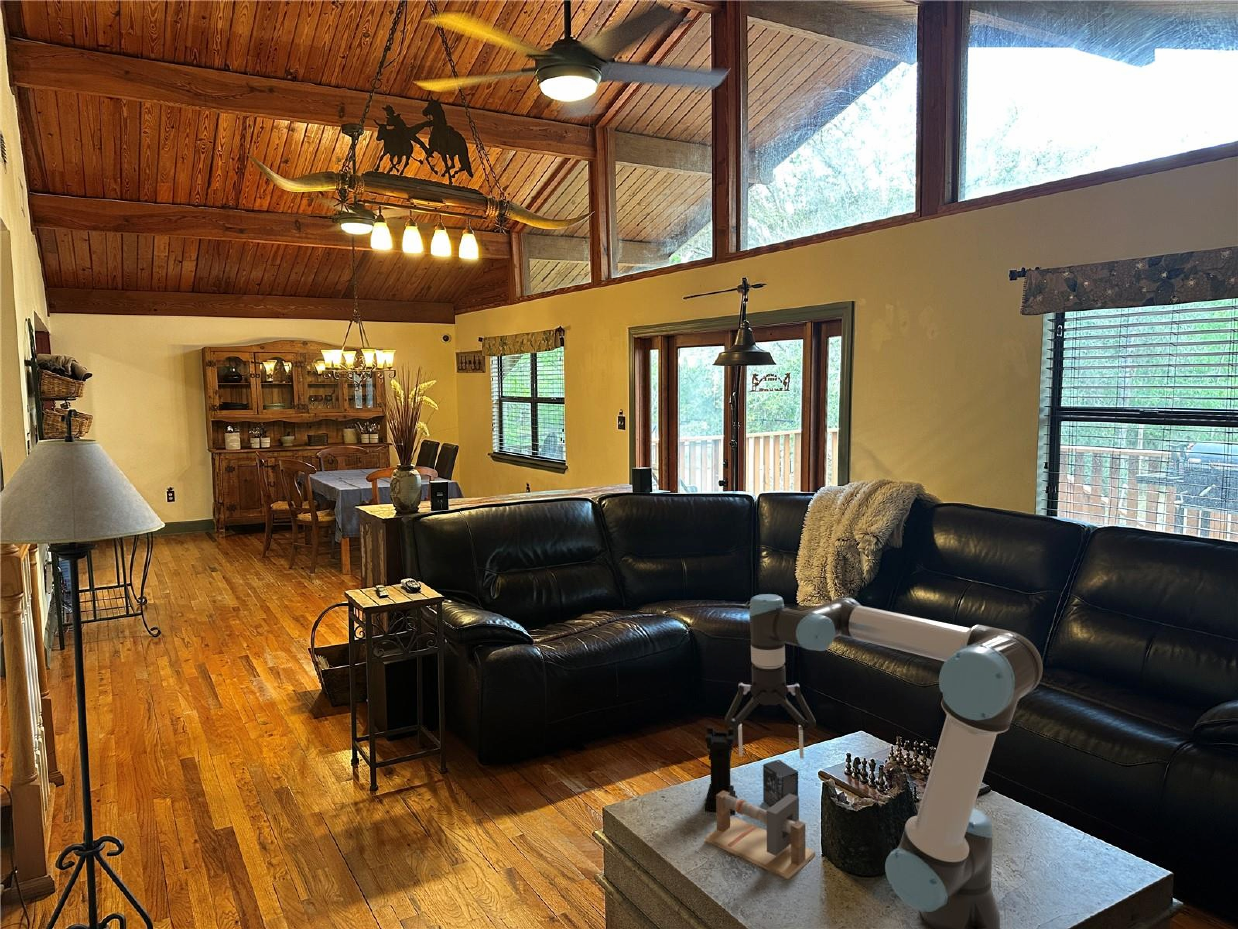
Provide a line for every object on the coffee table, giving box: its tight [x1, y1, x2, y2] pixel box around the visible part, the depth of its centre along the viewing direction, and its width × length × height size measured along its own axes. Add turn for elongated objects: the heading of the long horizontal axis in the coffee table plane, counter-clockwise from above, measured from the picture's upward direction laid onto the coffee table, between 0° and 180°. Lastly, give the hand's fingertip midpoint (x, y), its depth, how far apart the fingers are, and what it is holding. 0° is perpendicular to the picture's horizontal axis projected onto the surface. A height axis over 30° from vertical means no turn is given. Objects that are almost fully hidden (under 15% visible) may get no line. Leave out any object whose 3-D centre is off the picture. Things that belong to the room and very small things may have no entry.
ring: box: [766, 793, 800, 856], centre depth 183 cm, size 2×10×10 cm, turn 137°
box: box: [762, 758, 799, 807], centre depth 207 cm, size 8×6×11 cm
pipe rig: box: [705, 790, 816, 880], centre depth 188 cm, size 23×12×10 cm, turn 47°
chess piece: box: [703, 725, 738, 815], centre depth 207 cm, size 8×8×20 cm
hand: (770, 755), depth 180 cm, fingers open, 13 cm apart
